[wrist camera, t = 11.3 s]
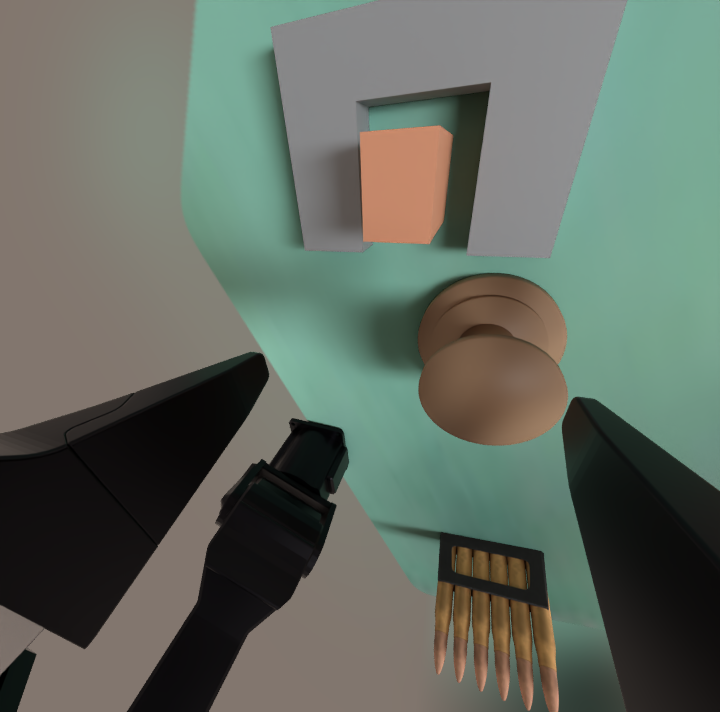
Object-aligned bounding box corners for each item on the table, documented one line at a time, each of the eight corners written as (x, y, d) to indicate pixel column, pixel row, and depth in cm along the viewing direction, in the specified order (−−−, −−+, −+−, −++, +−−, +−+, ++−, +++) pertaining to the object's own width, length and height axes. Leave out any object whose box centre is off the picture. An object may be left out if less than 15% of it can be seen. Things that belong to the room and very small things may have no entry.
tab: (394, 219, 18) (363, 241, 13) (396, 139, 16) (360, 131, 11) (444, 220, 17) (429, 243, 12) (453, 135, 15) (439, 125, 10)
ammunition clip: (543, 551, 31) (569, 723, 21) (543, 560, 31) (568, 730, 22) (440, 531, 35) (425, 666, 26) (442, 540, 36) (429, 673, 27)
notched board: (318, 243, 20) (305, 250, 19) (292, 40, 15) (270, 27, 13) (543, 248, 16) (549, 257, 15) (623, -34, 11) (647, -67, 9)
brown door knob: (417, 378, 24) (399, 437, 19) (424, 269, 19) (402, 310, 14) (540, 398, 21) (558, 473, 16) (586, 277, 16) (633, 331, 11)
